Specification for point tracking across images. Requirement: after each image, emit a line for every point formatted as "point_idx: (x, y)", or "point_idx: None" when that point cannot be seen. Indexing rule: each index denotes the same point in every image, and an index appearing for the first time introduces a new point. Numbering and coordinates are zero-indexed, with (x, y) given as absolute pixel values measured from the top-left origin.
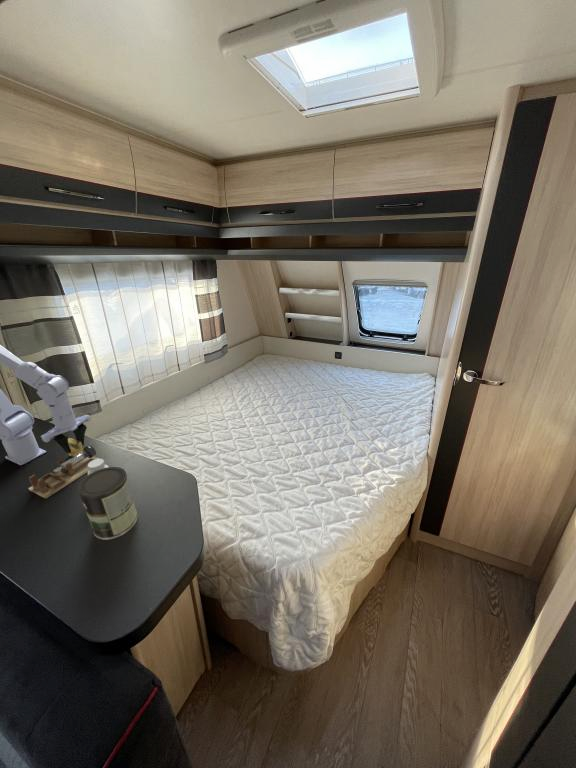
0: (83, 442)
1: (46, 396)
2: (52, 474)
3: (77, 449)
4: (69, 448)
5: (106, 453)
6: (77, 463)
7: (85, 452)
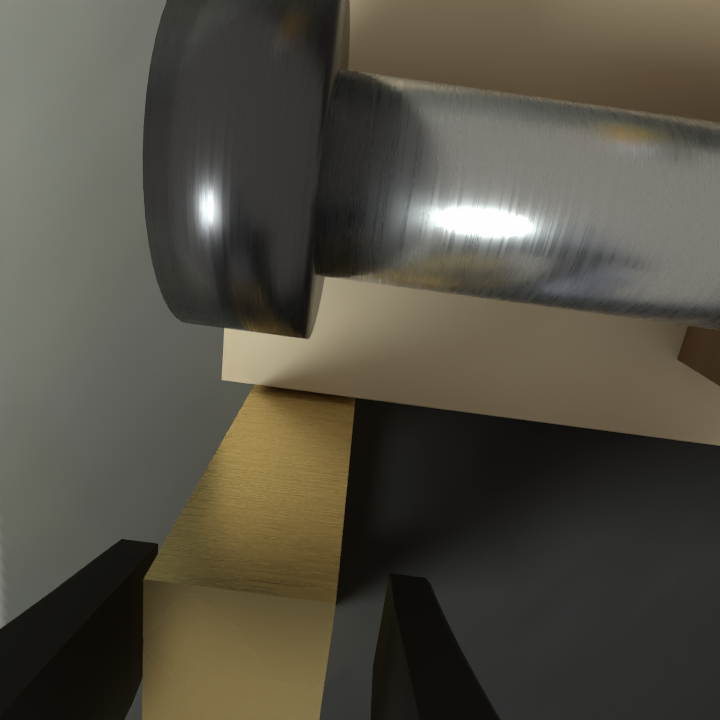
0: (87, 573)
1: None
2: None
3: (325, 495)
4: (415, 645)
5: (53, 92)
6: (486, 308)
7: (405, 126)
